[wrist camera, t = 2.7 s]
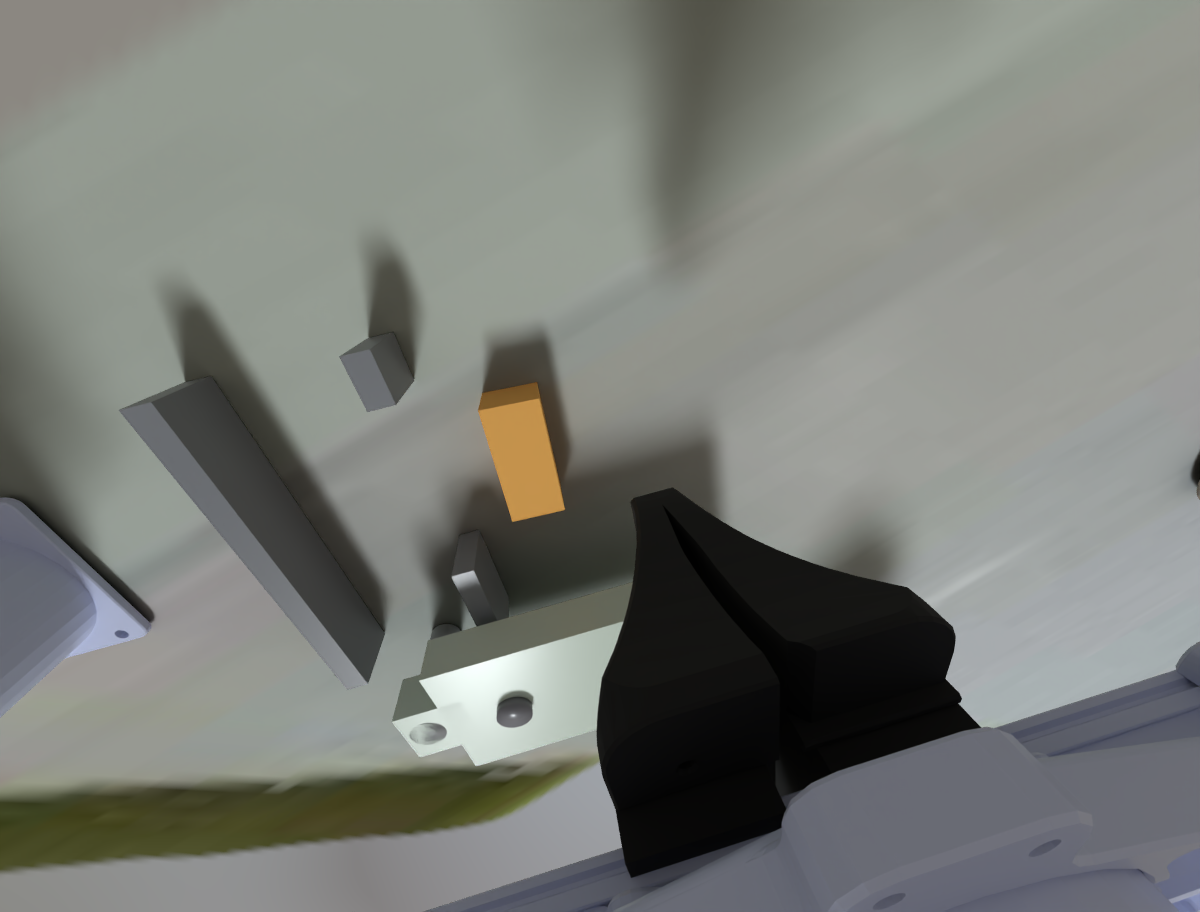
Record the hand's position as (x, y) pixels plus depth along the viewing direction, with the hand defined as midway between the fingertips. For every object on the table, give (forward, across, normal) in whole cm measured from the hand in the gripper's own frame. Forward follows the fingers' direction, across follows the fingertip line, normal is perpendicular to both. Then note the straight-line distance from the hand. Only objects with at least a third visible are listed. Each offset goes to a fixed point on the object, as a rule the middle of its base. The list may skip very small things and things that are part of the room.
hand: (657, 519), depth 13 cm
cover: (+8, +5, +10) cm, 14 cm away
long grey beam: (+8, +12, +2) cm, 14 cm away
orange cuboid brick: (+8, +4, 0) cm, 9 cm away
